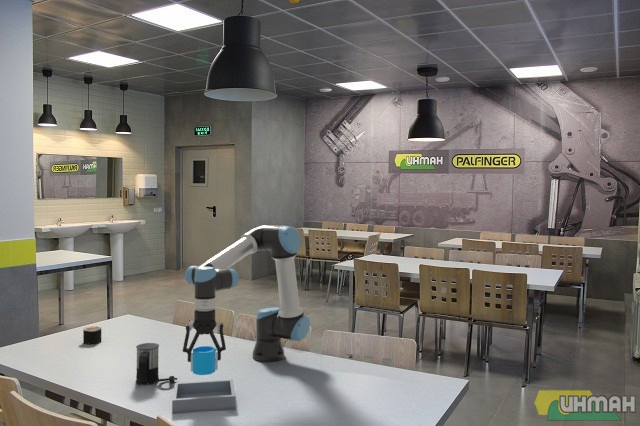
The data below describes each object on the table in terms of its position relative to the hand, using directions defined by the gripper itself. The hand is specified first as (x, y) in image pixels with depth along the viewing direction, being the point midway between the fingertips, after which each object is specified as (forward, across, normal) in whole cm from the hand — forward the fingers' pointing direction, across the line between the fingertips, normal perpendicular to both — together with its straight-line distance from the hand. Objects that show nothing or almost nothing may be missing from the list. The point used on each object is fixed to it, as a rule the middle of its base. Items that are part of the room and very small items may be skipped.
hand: (204, 369), depth 194 cm
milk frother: (+13, -19, +24) cm, 33 cm away
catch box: (+12, 0, 0) cm, 12 cm away
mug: (0, +1, 0) cm, 1 cm away
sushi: (+12, -56, +87) cm, 104 cm away
